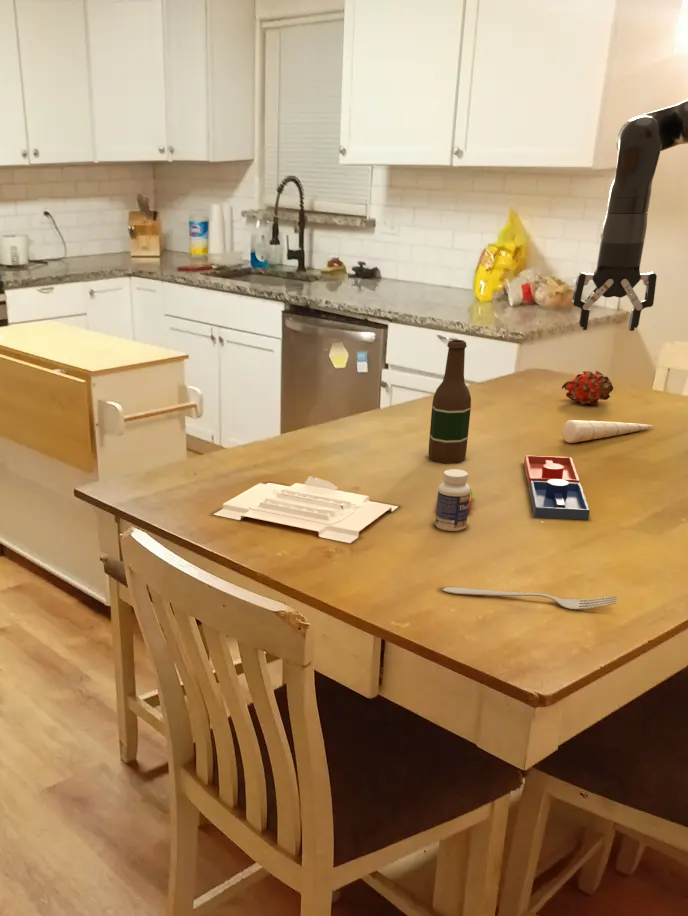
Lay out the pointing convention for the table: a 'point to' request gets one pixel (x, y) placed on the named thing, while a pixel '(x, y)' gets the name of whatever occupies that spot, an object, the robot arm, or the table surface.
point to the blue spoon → (557, 491)
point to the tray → (307, 508)
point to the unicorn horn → (597, 429)
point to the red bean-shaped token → (552, 470)
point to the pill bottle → (453, 501)
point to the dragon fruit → (588, 387)
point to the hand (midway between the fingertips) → (607, 329)
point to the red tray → (536, 466)
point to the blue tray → (573, 503)
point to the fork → (563, 602)
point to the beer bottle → (451, 410)
